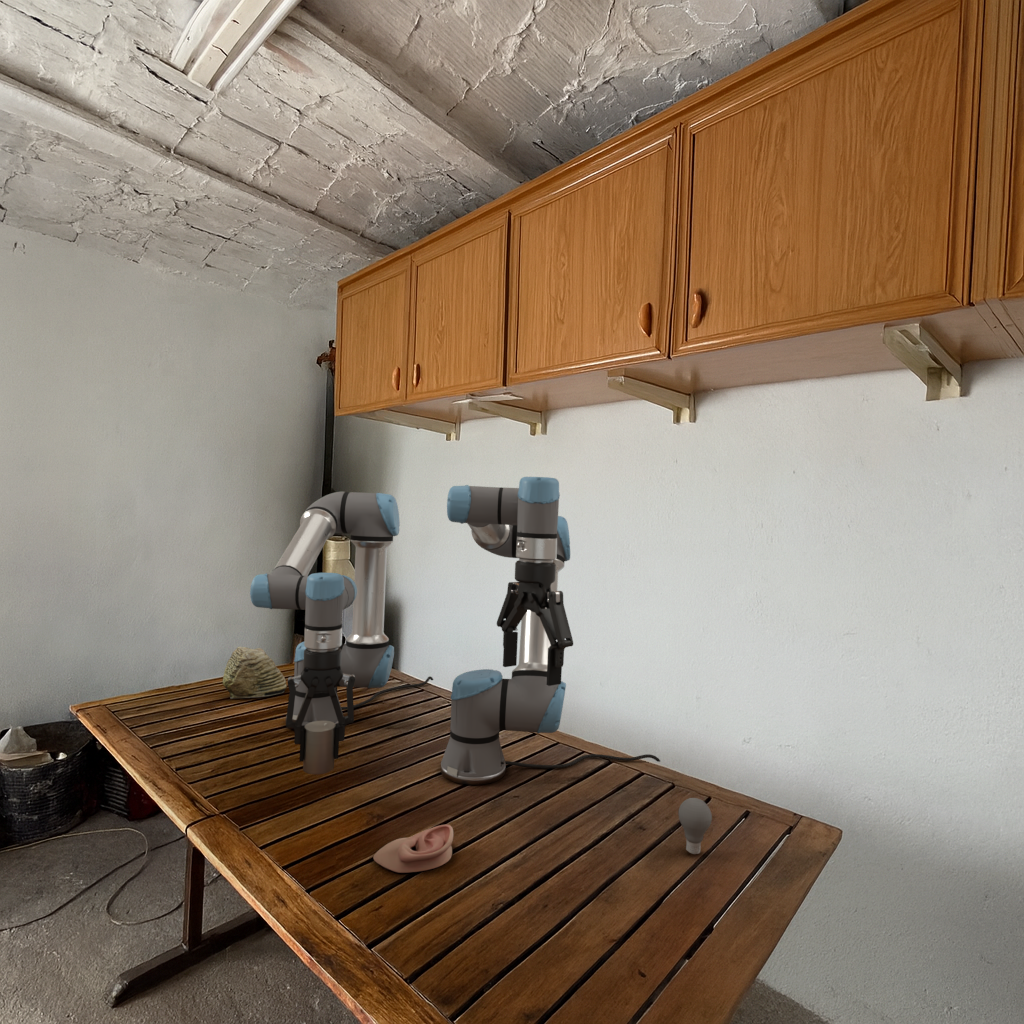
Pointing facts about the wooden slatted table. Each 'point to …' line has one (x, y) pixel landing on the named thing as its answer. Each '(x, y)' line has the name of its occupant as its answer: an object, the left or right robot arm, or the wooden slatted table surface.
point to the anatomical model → (417, 851)
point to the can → (319, 747)
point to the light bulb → (694, 822)
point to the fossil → (252, 674)
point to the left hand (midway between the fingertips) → (319, 757)
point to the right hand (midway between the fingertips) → (530, 674)
